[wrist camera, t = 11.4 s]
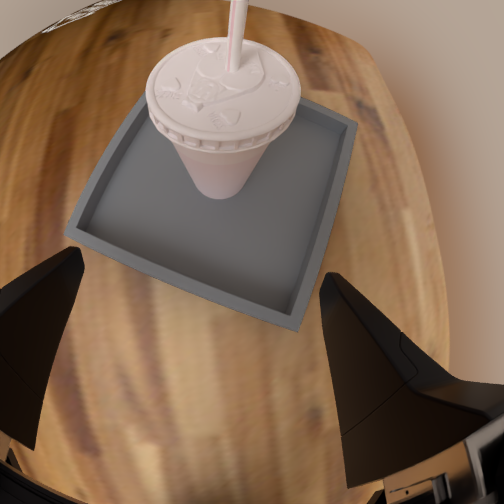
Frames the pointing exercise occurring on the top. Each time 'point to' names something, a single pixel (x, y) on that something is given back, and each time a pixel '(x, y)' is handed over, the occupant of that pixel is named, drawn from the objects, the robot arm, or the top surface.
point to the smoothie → (222, 104)
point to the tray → (221, 214)
